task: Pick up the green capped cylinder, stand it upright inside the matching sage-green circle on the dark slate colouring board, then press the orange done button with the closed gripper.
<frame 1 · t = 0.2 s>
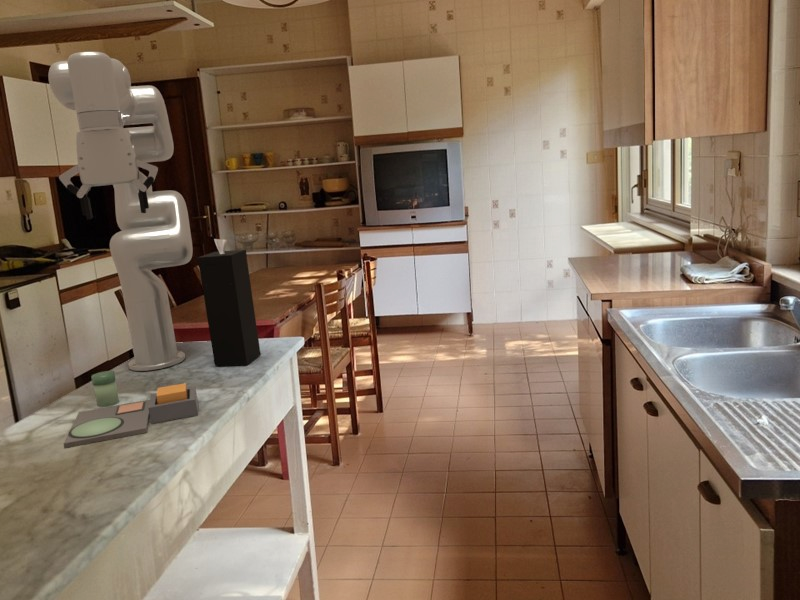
hand: (117, 215, 130), 36 cm above the table, tool pointing down, fingers open, 9 cm apart
green capped cylinder: (108, 403, 135), on the table
button housing: (175, 412, 126), on the table
colouring board: (111, 423, 123), on the table
tissue box: (238, 361, 155), on the table
done button: (172, 395, 125), point 3 cm above the table, slide at 0.0 cm
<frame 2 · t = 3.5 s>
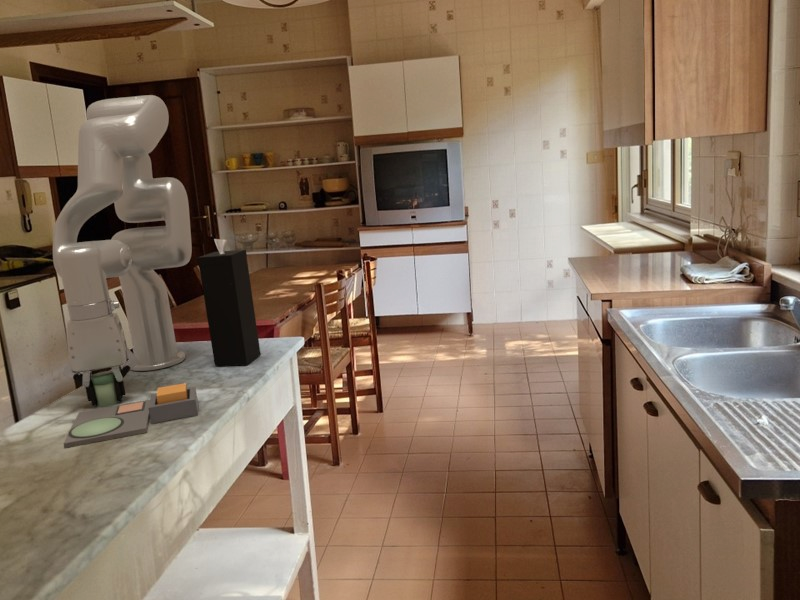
hand: (107, 400, 134), 1 cm above the table, tool pointing down, fingers closed on green capped cylinder, 4 cm apart
green capped cylinder: (108, 403, 134), on the table, touching gripper
everything else where it was.
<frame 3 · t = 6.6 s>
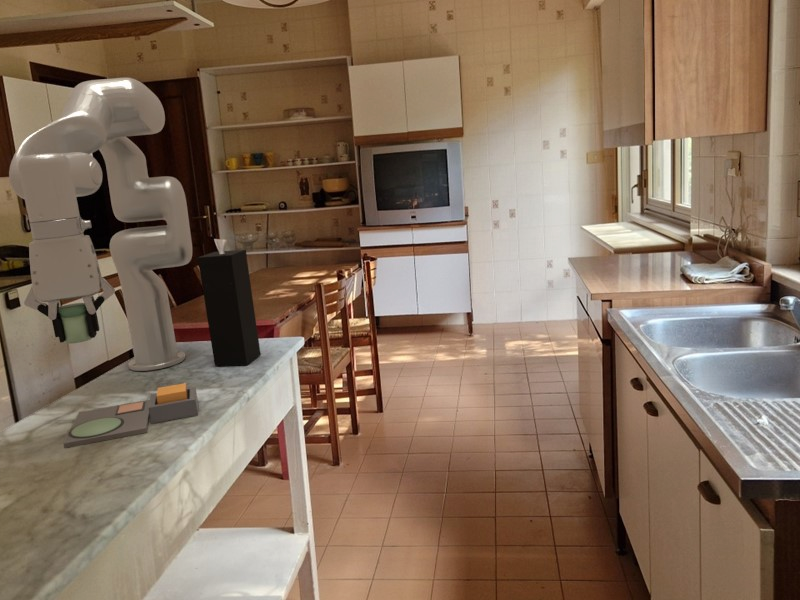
hand: (78, 337, 116), 17 cm above the table, tool pointing down, fingers closed on green capped cylinder, 4 cm apart
green capped cylinder: (79, 340, 116), point 17 cm above the table, touching gripper
everything else where it was.
when the fingers open (3 cm above the table, at t = 10.2 s): green capped cylinder drops 1 cm, resting on colouring board.
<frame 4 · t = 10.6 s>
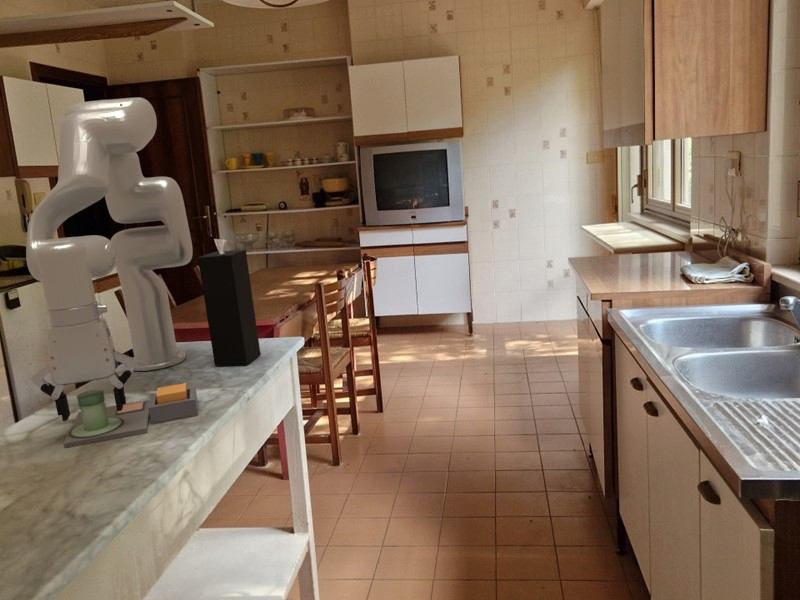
hand: (93, 413, 119), 4 cm above the table, tool pointing down, fingers open, 8 cm apart
green capped cylinder: (96, 426, 119), point 1 cm above the table, touching colouring board
everything else where it was.
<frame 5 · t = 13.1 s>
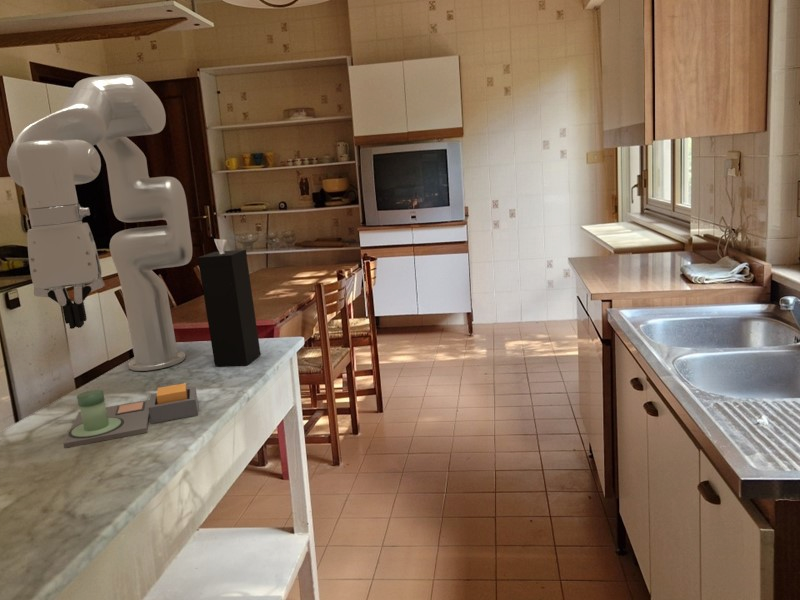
hand: (77, 326, 116), 19 cm above the table, tool pointing down, fingers closed
nothing on the table moved.
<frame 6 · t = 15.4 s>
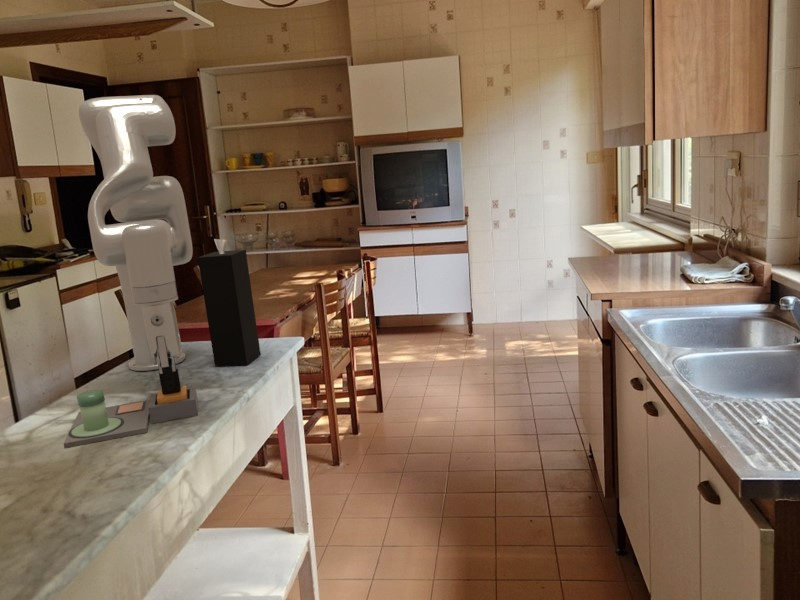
hand: (172, 392, 125), 4 cm above the table, tool pointing down, fingers closed
done button: (173, 398, 125), point 3 cm above the table, slide at 0.5 cm, touching gripper
everything else where it was.
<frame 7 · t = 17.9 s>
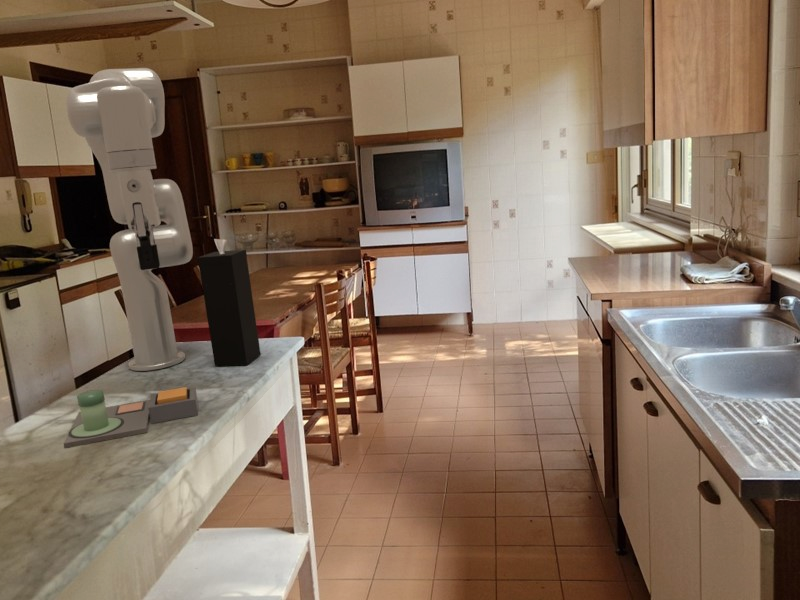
hand: (150, 268, 120), 27 cm above the table, tool pointing down, fingers closed
done button: (173, 399, 125), point 2 cm above the table, slide at 0.8 cm
everything else where it was.
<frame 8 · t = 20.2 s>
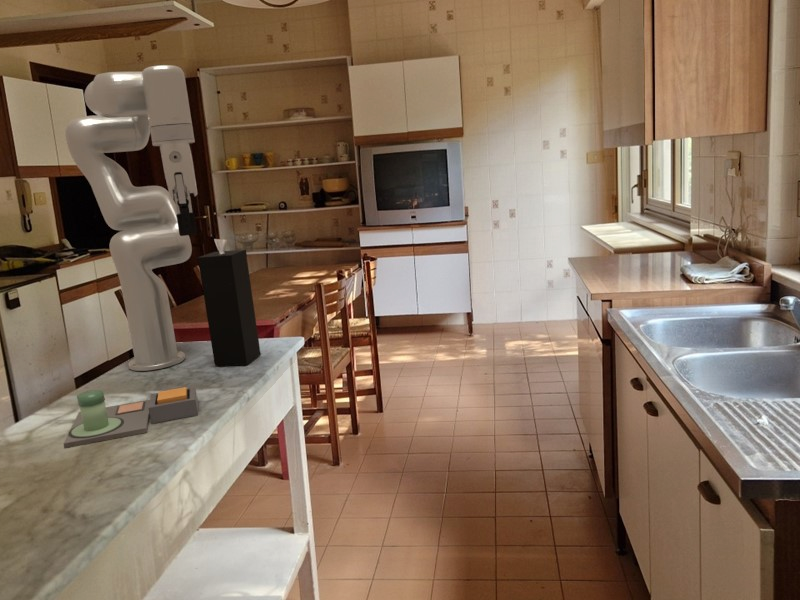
hand: (188, 234, 130), 31 cm above the table, tool pointing down, fingers closed
nothing on the table moved.
at the end: green capped cylinder 0.0 cm from the target spot, point 1.0 cm above the table; green capped cylinder tilted 0°; done button slide at 0.8 cm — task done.
